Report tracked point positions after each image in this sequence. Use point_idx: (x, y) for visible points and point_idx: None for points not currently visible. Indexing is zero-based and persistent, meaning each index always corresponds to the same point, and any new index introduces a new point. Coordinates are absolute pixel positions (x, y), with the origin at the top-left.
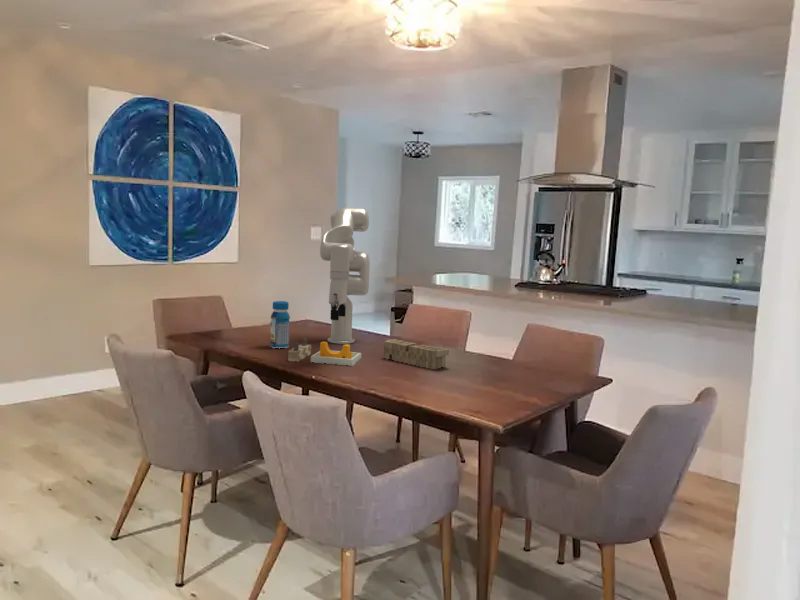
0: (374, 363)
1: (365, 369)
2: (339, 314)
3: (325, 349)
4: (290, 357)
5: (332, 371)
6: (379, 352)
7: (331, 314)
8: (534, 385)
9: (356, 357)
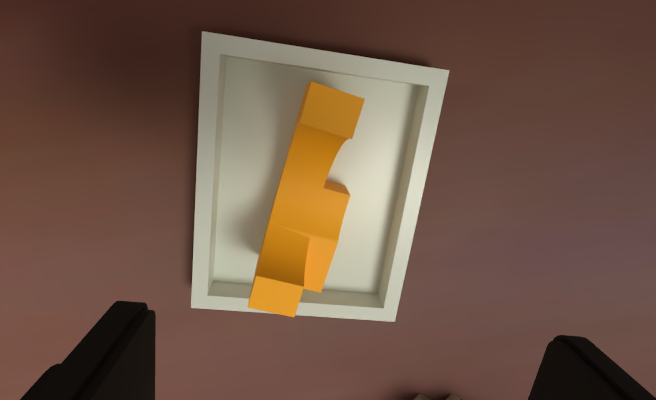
0: (298, 372)
1: None
2: (559, 383)
3: (296, 127)
4: None
5: (23, 212)
6: None
7: (61, 387)
8: None
9: None
